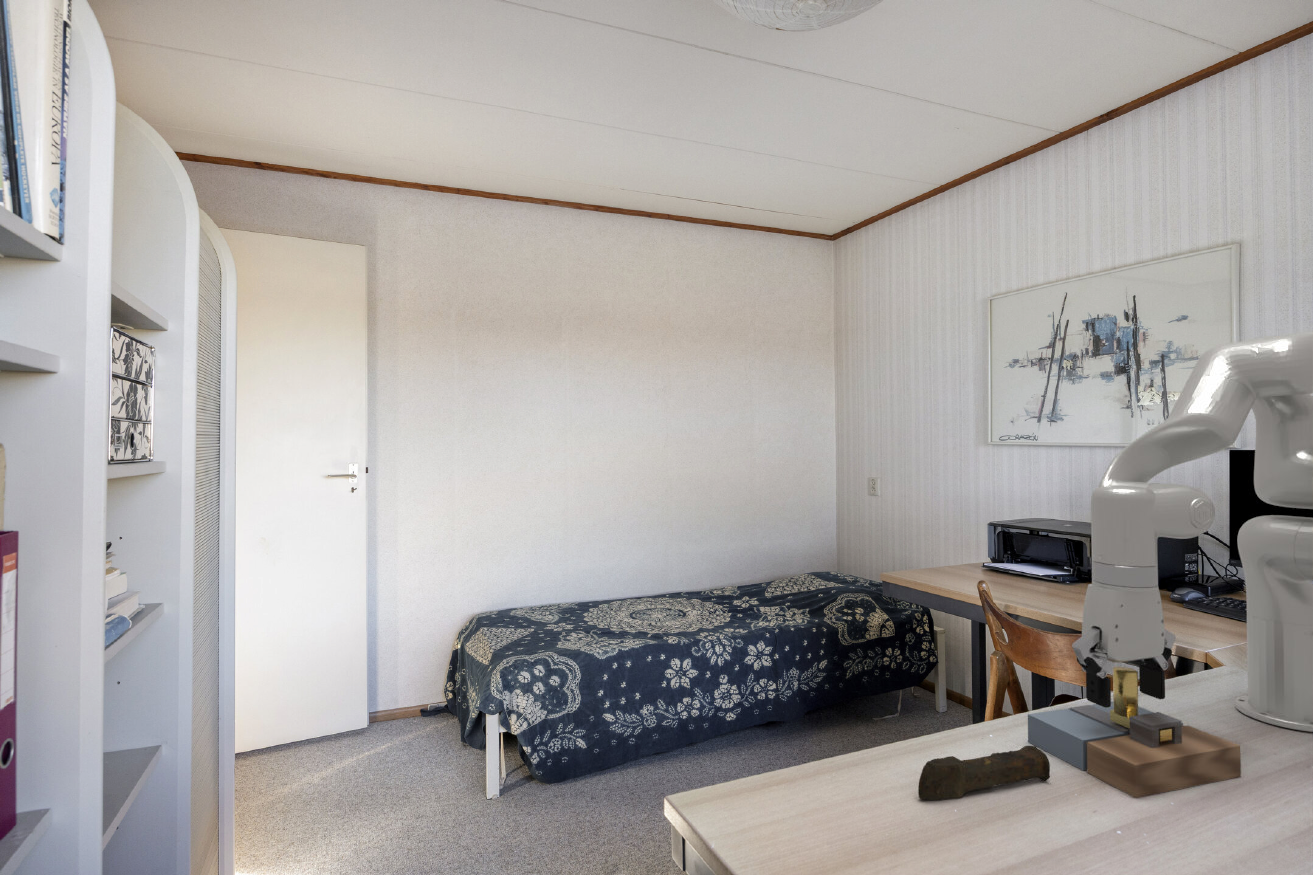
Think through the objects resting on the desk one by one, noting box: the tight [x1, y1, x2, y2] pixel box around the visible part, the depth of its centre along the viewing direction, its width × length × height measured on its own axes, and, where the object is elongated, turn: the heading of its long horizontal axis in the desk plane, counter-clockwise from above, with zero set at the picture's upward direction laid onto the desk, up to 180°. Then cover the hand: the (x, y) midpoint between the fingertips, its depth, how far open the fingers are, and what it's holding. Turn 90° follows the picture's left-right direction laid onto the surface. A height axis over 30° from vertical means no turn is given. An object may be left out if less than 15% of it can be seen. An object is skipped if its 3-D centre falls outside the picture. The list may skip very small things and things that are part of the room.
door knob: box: [1110, 666, 1172, 742], centre depth 91 cm, size 3×7×7 cm, turn 16°
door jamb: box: [1086, 711, 1242, 799], centre depth 88 cm, size 18×7×7 cm, turn 106°
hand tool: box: [917, 745, 1051, 801], centre depth 85 cm, size 19×4×5 cm, turn 106°
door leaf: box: [1027, 701, 1184, 771], centre depth 96 cm, size 18×9×4 cm, turn 106°
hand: (1125, 699), depth 93 cm, fingers open, 9 cm apart
